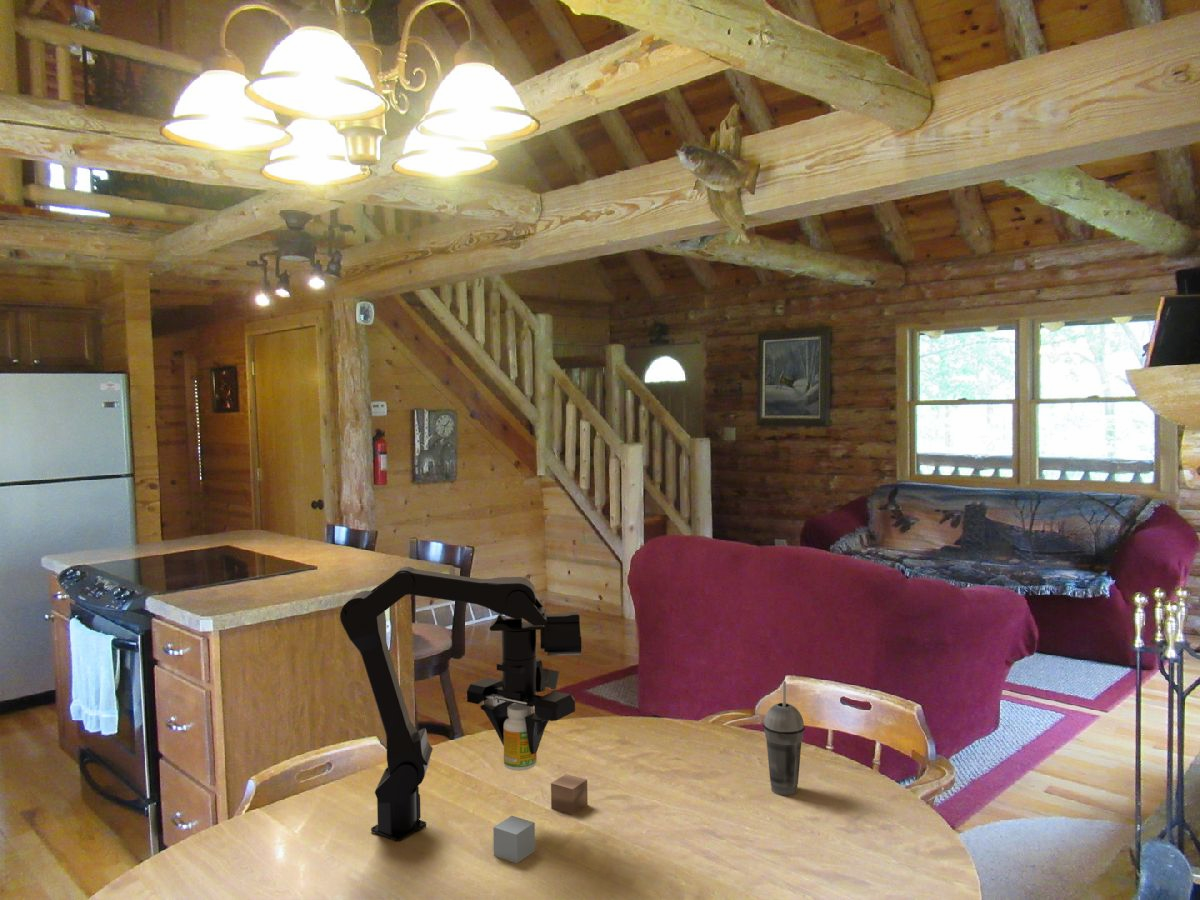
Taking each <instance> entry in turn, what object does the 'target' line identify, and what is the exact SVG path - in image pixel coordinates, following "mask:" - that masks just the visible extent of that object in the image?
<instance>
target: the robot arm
mask: <svg viewBox="0 0 1200 900" xmlns="http://www.w3.org/2000/svg"><path fill="white" fill-rule="evenodd" d="M406 595H411V596H418V597H424V598H431V599H438V600H445V601H452V602H459V603H463V604H464V603H465V604H473V605H478V606H481V607H484V608H485V609H488V610H489V611H491V612H495V613H497V617H496V618H495V619H494V620H493V621H491V623H490V625H489V631H491V632H501V633H500V634H501V637H500V638H501V639H500V640H501V662H498V663H496V671H500V672H501V679H496V678H491V677H485V678H483V679H480V680H476V681H475V682H472V683H470V684H469V685H468V688H467V689H466V702H467V703H470V704H475V705H480V704H481V705H480V706H479V707H480V710H482V711H483V712H484V713H485V715H486V717H487V718H488V720H489V721H490V722H491V725H492V726H493V728H494V730H495V732H496V734H497V736H498V738H499V740H500V742H501V744H502V746H503V747H504V731H503V727H504V722H505V720H506V719H507V718H509V717H508V714H507V708H508V706H509V705H511V704H515V703H517V704H522V705H526V706H531V707H532V714H530V715H528V716H526V717H525V722H526V729H527V735H528V742H529V748H530V751H531V754H535V753H536V752H538V749H539V746H540V744H541V741H542V738H543V735H544V732H545V730H546V726H547V725H548V722H549V721H551V722H556V721H558V720H561V719H562V718H564V717H566V716H569V715H570V714H572V713H575V711H576V700H575V698H574V696H573V695H572V694H570V693H566V692H560V691H556V690H557V685H558V681H559V676H560V670H554V669H548V668H545V667H544V668H543V661H542V659H539V658H537V657H538V655H537V631H538V630H540V635H539V636H540V650H543V652H544V653H547V654H546V655H547V656H573V655H575V656H577V655H581V656H582V632H581V627H580V626H581V625H580V623H581V621H580V613H579V611H577V612H573V611H571V612H569V613H568V612H567V613H548V611H547V609H546V608H545V606H543V604H542V602H540V601H539V599H538V598H537V591H536V587H535V585H534V584H533V582H532V581H531V580H530V579H528V578H526V577H523V576H505V577H504V576H501V577H495V578H494V577H493V578H476V577H472V576H471V577H470V576H462V575H456V574H449V573H443V572H437V571H429V570H424V569H416V568H414V567H411V566H403V567H401V568H400V569H398V570H397V571H396V572H395V573H394V574H393V575H392V576H390V577H389V578H387V579H386V580H384V581H383V582H382V583H380V584H378V586H376V587H374V588H373V589H372V590H362V591H359V592H357V593H356V594H354V595H353V596H352V597H351V598H350V599H349V600H348V601H347V602H346V603H345V604H344V605H343V606H342V608H341V610H340V613H339V618H340V619H339V620H340V623H341V625H342V628H343V629H344V631H345V633H346V635H347V637H348V638H349V641H350V642H351V643H352V644H353V646H354V647H355V648H356V650H358V652H359V653H360V655H361V658H362V661H363V665H364V668H365V670H366V675H367V678H368V680H369V685H370V688H371V691H372V694H373V697H374V700H375V703H376V706H377V710H378V712H379V713H378V714H379V717H380V719H381V722H382V726H383V729H384V732H385V736H386V737H385V738H386V763H387V767H385V769H384V771H383V774H382V776H381V777H380V780H379V782H378V784H377V787H376V788H375V791H374V793H375V797H376V798H377V799H376V803H377V804H376V807H377V809H376V810H377V824H375V825H373V826H372V827H371V828H370V831H371V832H372V833H375V834H377V835H379V836H382V837H386V838H388V839H390V840H394V841H396V842H397V841H401V840H403V839H405V838H407V837H409V836H410V835H412V834H414V833H415V832H417V831H420V830H421V829H423V828H424V827H426V826H427V821H424V820H423V819H422V820H421V795H420V792H419V791H420V789H419V788H420V787H419V786H420V785H421V784H422V782H423V781H424V778H425V777H426V774H427V771H428V768H429V765H430V762H431V755H432V752H433V749H434V748H433V747H432V746H431V744H430V743H429V739H428V733H427V729H426V727H424V728H421V729H420V730H418V729H417V728H416V727H415V725H414V724H413V722H412V721H411V718H410V714H409V711H408V709H407V705H406V702H405V698H404V695H403V693H402V692H403V691H402V688H401V685H400V682H399V678H398V675H397V672H396V669H395V665H394V663H393V659H392V656H391V653H390V650H389V646H388V643H387V642H388V641H387V617H386V611H387V610H388V609H389V608H391V607H392V606H393V605H394V604H396V603H397V602H398V601H400V600H401V599H402V598H404V597H405V596H406ZM506 616H507V617H506ZM523 620H524V621H523ZM546 688H548V689H550V690H553V691H551V692H549V693H547V694H545V695H538V693H542V692H545V691H546Z"/></svg>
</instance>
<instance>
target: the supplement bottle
mask: <svg viewBox="0 0 1200 900" xmlns="http://www.w3.org/2000/svg"><path fill="white" fill-rule="evenodd" d="M532 713H533V707H531V706H526V705H522V704H517V703H514V704H511V705H509V706H508V708H507V714H508V717H509V718H507V719H506V720H505V722H504V727H503V731H504V746H503V765H504V767H505V768H506V769H508V770H511V771H517V772H518V771H519V772H520V771H527V770H530V769H532V768H534V767H535V766H536V765H537V763H538V762H537V761H538V760H537V757H538V756H537V754H538V753H537V752H538V751H537V752H536V753H535V754H531V751H530V748H529V742H528V735H527V729H526V722H525V717H526V716H528V715H530V714H532Z"/></svg>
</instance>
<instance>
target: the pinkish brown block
mask: <svg viewBox="0 0 1200 900" xmlns="http://www.w3.org/2000/svg"><path fill="white" fill-rule="evenodd" d="M588 796H589V795H588V779H587V778H582V777H580V776H579V777H578V776H575V775H572V774H567V773H566V774H565V773H564V775H562V776H560V777H559V778H557V779H556V780H553V781H552V782H551V783H550V803H551V806H550V808H551V809H552V810H554V811H559V812H561V813H564V814H569V815H572V816H573V815H575V814H576V813H578V812H579V811H581V810H582V809H584V808H585V807H587V806H588V804H589V801H588V798H589V797H588Z"/></svg>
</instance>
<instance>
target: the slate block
mask: <svg viewBox="0 0 1200 900" xmlns="http://www.w3.org/2000/svg"><path fill="white" fill-rule="evenodd" d="M535 827H536V823H535V822H534V821H531V820H528V819H524V818H521V817H518V816H515V815H510V816H509V817H507V818H506V819H504V820H503V821H501V822H500V823H498V824H496V825H494V826H493V829H492V830H493V856H494V857H497V858H500V859H503V860H507V861H508V862H512V863H514V864H518V863H520V862H521V861H523V859H525V858H527V857H528V856H529V855H531V854H533V853H534V852H535V851H536V830H535Z"/></svg>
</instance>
